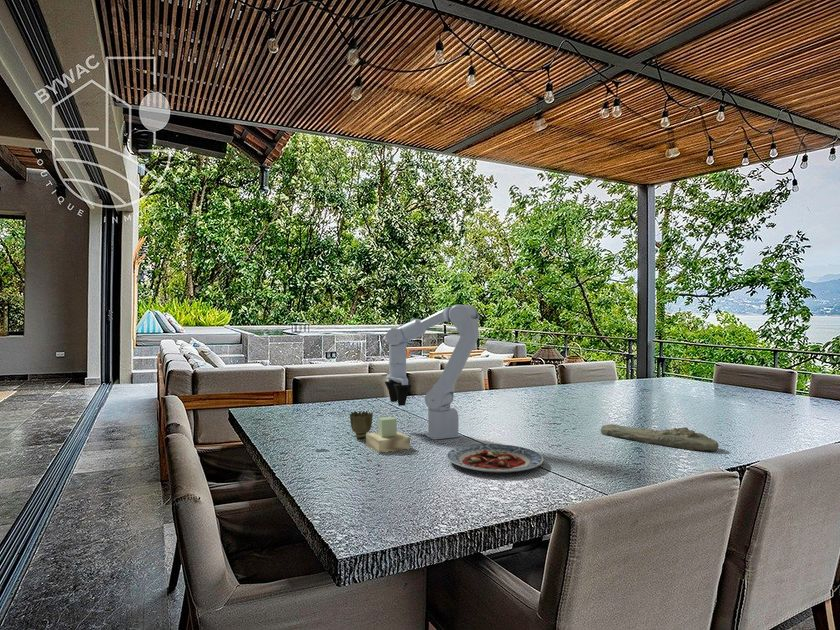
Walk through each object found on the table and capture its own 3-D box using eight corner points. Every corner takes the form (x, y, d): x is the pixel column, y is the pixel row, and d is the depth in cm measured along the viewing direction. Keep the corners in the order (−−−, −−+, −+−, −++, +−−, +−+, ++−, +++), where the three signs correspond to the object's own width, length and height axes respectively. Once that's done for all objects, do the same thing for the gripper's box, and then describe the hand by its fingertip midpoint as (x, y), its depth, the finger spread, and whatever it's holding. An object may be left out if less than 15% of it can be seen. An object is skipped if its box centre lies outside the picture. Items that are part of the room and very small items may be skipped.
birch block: (395, 443, 165) (395, 430, 165) (410, 450, 156) (410, 437, 156) (366, 446, 161) (365, 433, 161) (378, 454, 152) (378, 440, 152)
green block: (392, 432, 161) (392, 416, 162) (396, 435, 157) (396, 419, 157) (378, 434, 160) (377, 417, 160) (382, 437, 156) (381, 420, 156)
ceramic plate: (522, 486, 124) (522, 473, 124) (428, 468, 138) (428, 457, 138) (556, 459, 146) (556, 449, 146) (472, 446, 160) (472, 437, 160)
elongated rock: (608, 434, 181) (596, 441, 174) (607, 419, 181) (594, 425, 174) (722, 447, 157) (713, 455, 150) (721, 429, 157) (712, 437, 150)
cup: (368, 441, 166) (368, 415, 165) (346, 440, 167) (346, 414, 167) (375, 435, 173) (375, 411, 173) (354, 434, 174) (354, 410, 174)
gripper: (379, 362, 184) (379, 400, 184) (393, 366, 171) (393, 408, 171) (398, 361, 187) (398, 399, 187) (414, 365, 173) (414, 406, 173)
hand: (397, 403), depth 179 cm, fingers open, 7 cm apart
